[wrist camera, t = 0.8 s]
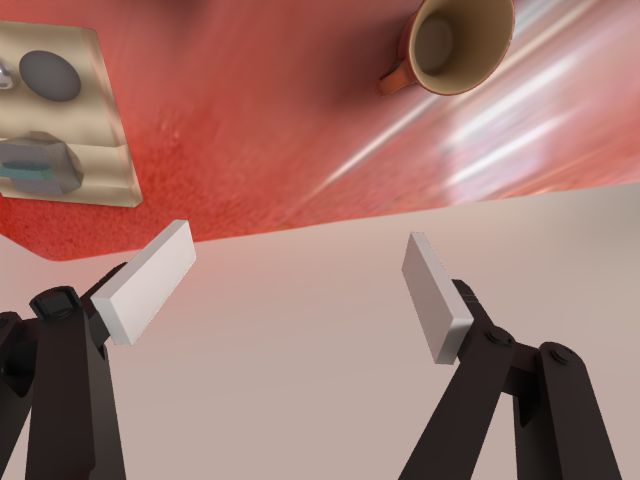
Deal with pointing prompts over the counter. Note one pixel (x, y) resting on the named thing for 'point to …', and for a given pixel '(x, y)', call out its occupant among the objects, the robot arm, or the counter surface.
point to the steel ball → (8, 75)
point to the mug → (450, 46)
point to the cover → (38, 166)
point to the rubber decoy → (49, 76)
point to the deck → (69, 116)
